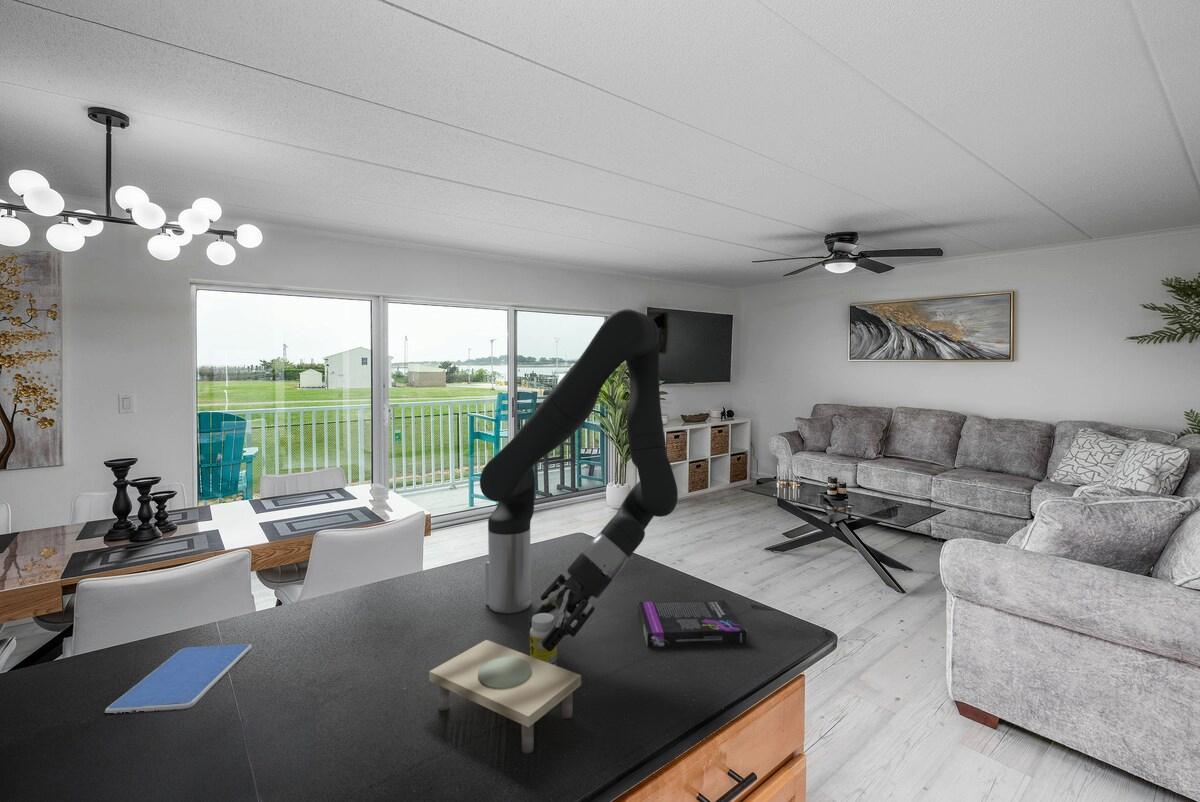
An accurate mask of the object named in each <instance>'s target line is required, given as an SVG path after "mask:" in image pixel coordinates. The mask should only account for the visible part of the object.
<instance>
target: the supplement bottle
mask: <svg viewBox="0 0 1200 802" xmlns="http://www.w3.org/2000/svg"><path fill="white" fill-rule="evenodd" d="M533 615H534V614H533ZM533 615H532V616H533ZM531 618H532V627H530V630H529V656H531V657H534V658H536V659H539V660H542V661H544V662H547V663H550V664H552V665H555V666H557V662H558V658H557V657H558V656H557V655H558V652H557V645H558V644H557V645H556V646H555V648H554V649H553V650H552V651H550V652H549V651H548V650H546V649H545V648H544V647H543V646H542V644H541V643H542V641H543V640H544V639H545V637H546V636H547V635H548V634H549V632H550V631H551V630H552V629H553V628H554V626H555V616H554V615H553V614H552V613H539V614H536V615H534V616H533V617H531Z"/></svg>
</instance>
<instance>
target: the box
mask: <svg viewBox="0 0 1200 802" xmlns="http://www.w3.org/2000/svg"><path fill="white" fill-rule="evenodd" d="M637 617H638V620H639V623H640V626H641V630H642V633H643V635H644V639H645V643H646V647H673V646H675V647H677V645H683V646H704V645H705V646H706V645H708V646H710V645H738V644H737V643H742V644H748V630H747V629H746V627H745V626H744V625H743V624H742V622H741V620H740V619H739V618H738V617H737V615H736V613H735V612H734V610H733V609H732V607H731V606H730V605H729V603H728V601H727V600H681V601H680V600H677V601H675V600H674V601H673V600H672V601H671V600H670V601H641V602H640V601H639V602H638V603H637ZM735 643H736V644H735Z"/></svg>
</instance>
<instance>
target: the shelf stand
mask: <svg viewBox="0 0 1200 802" xmlns="http://www.w3.org/2000/svg"><path fill="white" fill-rule="evenodd" d="M428 675H429V678H428V679H429V682H432V683H433V684H436V685H437V687H438V710H439V711H442V712H443V711H447V710H449V709H450V707H451V706H450V704H451V703H450V692H452V693H455V694H457V695H459V696H461V697H463V698H464V699H468V700H469V701H471V702H473V703H475V704H477V705H481V706H482V707H484V708H486V709H488V710H490V711H493V712H494V713H497V714H500V715H501V716H503V717H505V718H507V719H510V720H511V721H514V722H515V723H519V724H520V725H521V751H522V753H523V754H531V753H533V751H534V748H535V746H534V745H535V744H534V743H535V742H534V741H535V740H534V737H535V736H534V724H535V723H536V722H537V721H538V720H540V719H541V718H542V717H543V716H545V715H546V714H547V713H548V712H550V711H551V710H552V709H553V708H554V707H556V706H557V705H558V704H559V703H561V717H562V719H566V720H567V719H571V718H572V717H573V713H574V712H573V711H574V710H573V707H574V706H573V698H574V697H573V692H575V691H576V690H577V688H579V687H581V686H582V674H579V673H577V672H573V671H570V670H568V669H565V668H563V667H560V666H558V665H552V664H550V663H547V662H544V661H542V660H539V659H536V658H534V657H531V656H530V655H528V654H525V653H523V652H520V651H518V650H515V649H512V648H509V647H507V646H505V645H501V644H499V643H497V642H496V643H495V642H494V641H491V640H489V639H485V640H483V641H481V642H479V643H478V644H476V645H474V646H473V647H471V648H468V649H467V650H465V651H464V652H462V653H460V654H458V655H456V656H454V657H452V658H450V659H449V660H447V661H446V662H443V663H442V664H440V665H438V666H437V667H434V668H433V669H431V670H429V672H428Z"/></svg>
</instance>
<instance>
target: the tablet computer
mask: <svg viewBox="0 0 1200 802" xmlns="http://www.w3.org/2000/svg"><path fill="white" fill-rule="evenodd" d="M252 649H253V647H252V645H251V644H249V643H243V644H241V643H240V644H229V645H228V644H225V645H224V644H223V645H210V646H209V645H208V646H207V645H206V646H192V647H183V648H180V650H178V651H177V652H175V654H173V655H172V656H170V657H169V658H168V659H167V660H165V661H164V662H163V663H162V664H160V665H159V666H158V667H157V668H155V670H153V671H152V672H150V673H149V674H148V675H146V676H145V677H144V678H143V679H141V680H140V681H139V682H138V683H137V684H135V685H134V686H132V688H130V689H129V690H128V691H126V692H125V693H124V694H122V696H120V697H118V698H117V699H116V700H115V701H113V702H112V703H111V704H109V706H107V707H106V708H105V710H104V714H105V713H114V714H126V713H125V712H129V713H140V712H139V711H144V712H153V711H154V712H155V710H156V712H157V711H158V710H159V711H170V710H171V711H173V710H174V709H175V710H186V709H189V708H192V707H194V706H195V704H197V703H198V702H199V701H200V700H201V699H202V698H203V697H204V696H205V694H207V693H208V692H209V691H210V689H211V688H212V687H213V686H215V684H216V683H218V681H219V680H221V679H222V677H224V676H225V674H227V672H229V671H230V670H231V669H232V668H233V667H234V666H235V665H236V664H237V663H238V662H239V661H240V660H241V659H242V658H243V657H244V656H245V655H246V654H247V653H248V652H249V651H250V650H252ZM134 711H136V712H134ZM122 712H124V713H122Z"/></svg>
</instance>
